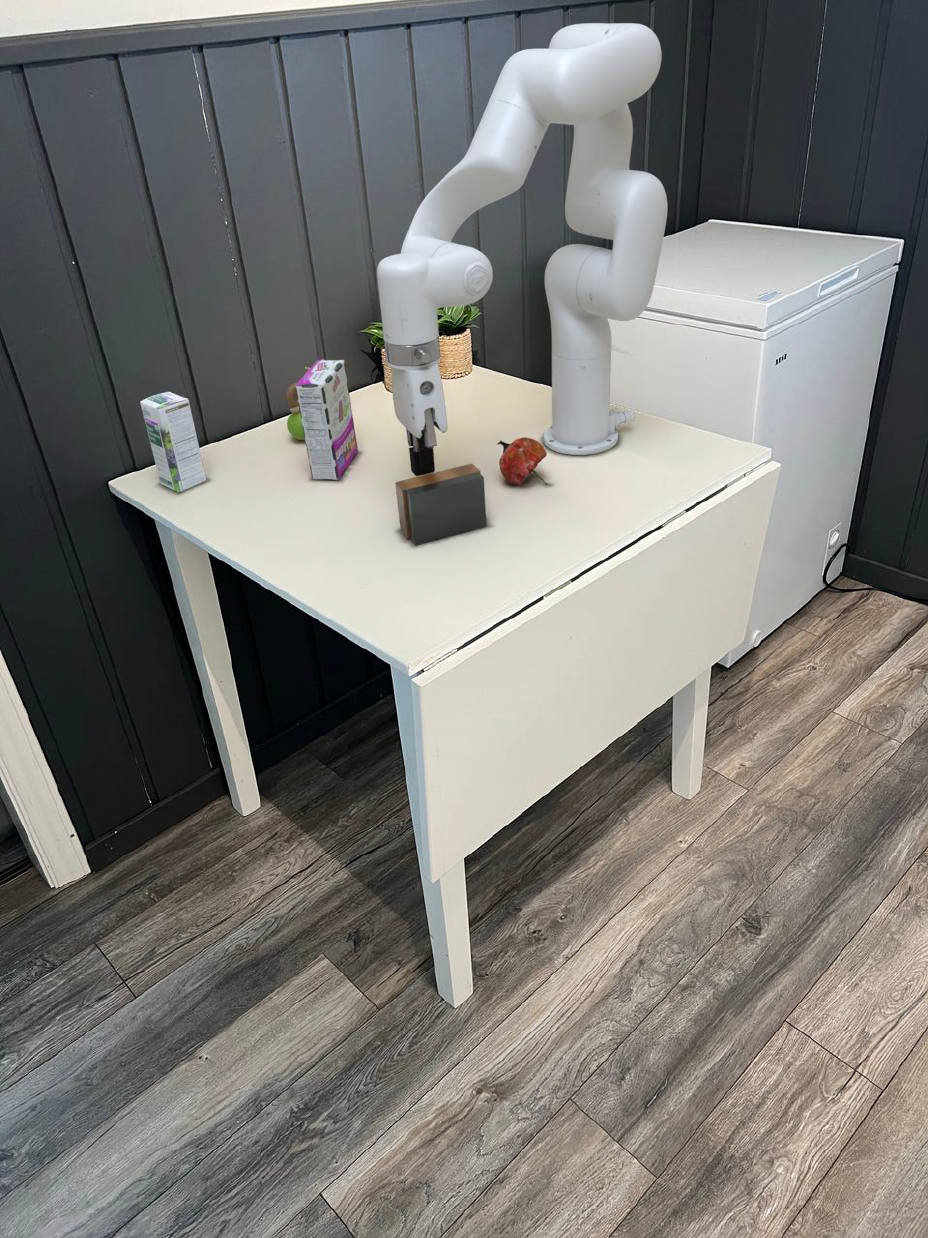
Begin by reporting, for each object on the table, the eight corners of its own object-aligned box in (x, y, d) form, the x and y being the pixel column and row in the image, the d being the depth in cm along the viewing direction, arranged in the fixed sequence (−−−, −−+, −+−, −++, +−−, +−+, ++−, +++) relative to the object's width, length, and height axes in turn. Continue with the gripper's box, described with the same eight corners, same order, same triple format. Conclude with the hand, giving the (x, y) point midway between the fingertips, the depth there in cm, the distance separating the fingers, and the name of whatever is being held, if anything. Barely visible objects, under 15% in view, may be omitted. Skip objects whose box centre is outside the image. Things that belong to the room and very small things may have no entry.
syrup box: (159, 484, 156) (136, 400, 148) (189, 471, 160) (169, 389, 152) (178, 493, 153) (156, 408, 145) (208, 480, 157) (189, 396, 148)
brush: (475, 511, 142) (472, 463, 137) (489, 526, 138) (486, 476, 134) (400, 531, 138) (394, 481, 134) (412, 546, 135) (407, 496, 130)
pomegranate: (549, 485, 152) (505, 441, 153) (571, 460, 146) (525, 414, 147) (523, 508, 148) (478, 463, 149) (544, 483, 142) (498, 436, 143)
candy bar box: (331, 451, 163) (317, 358, 154) (359, 452, 162) (346, 358, 153) (309, 480, 154) (293, 383, 145) (339, 481, 153) (324, 384, 144)
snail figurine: (330, 433, 170) (320, 368, 163) (306, 447, 165) (295, 381, 158) (307, 428, 172) (296, 364, 165) (283, 441, 168) (271, 376, 161)
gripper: (458, 361, 125) (466, 486, 135) (418, 331, 137) (428, 448, 147) (405, 371, 123) (417, 498, 133) (369, 340, 134) (383, 459, 145)
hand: (423, 472), depth 140 cm, fingers closed
